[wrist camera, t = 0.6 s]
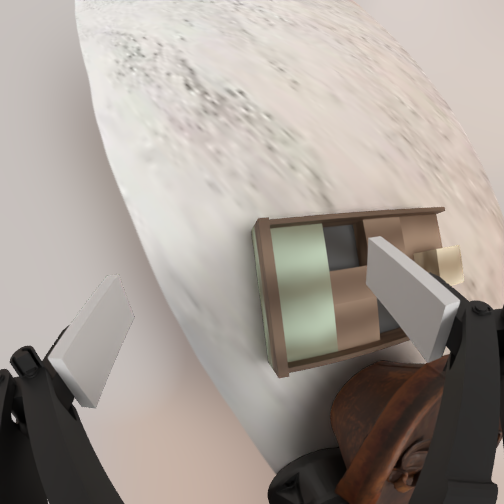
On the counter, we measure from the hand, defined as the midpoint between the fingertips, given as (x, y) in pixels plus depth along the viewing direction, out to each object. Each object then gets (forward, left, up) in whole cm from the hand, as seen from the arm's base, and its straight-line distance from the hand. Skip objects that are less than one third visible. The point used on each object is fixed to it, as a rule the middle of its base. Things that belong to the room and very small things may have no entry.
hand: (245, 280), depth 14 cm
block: (-2, -24, -14) cm, 28 cm away
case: (-19, -16, -17) cm, 30 cm away
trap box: (-2, -15, -17) cm, 23 cm away
